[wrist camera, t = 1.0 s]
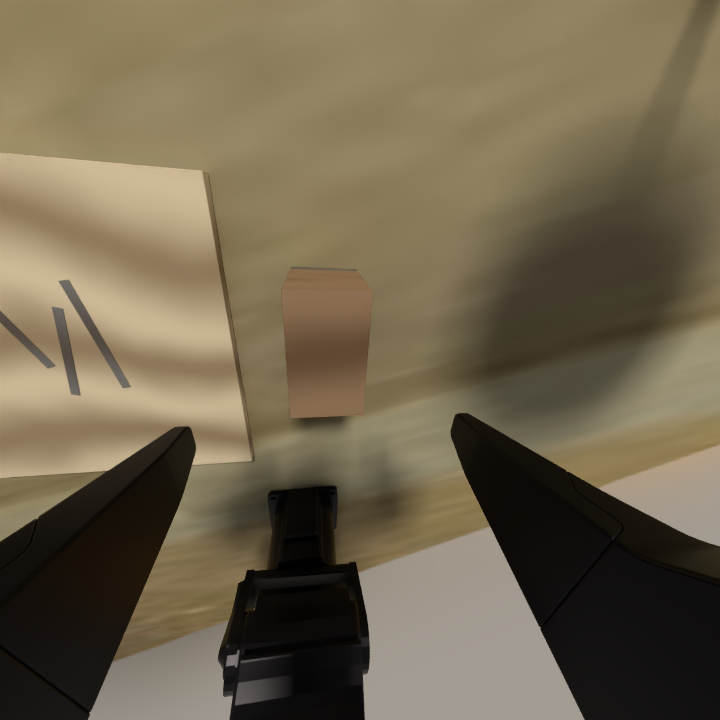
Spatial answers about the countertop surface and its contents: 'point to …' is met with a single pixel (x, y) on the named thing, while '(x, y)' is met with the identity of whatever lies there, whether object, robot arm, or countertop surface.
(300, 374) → the block
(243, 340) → the countertop surface
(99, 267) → the birch board
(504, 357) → the countertop surface
